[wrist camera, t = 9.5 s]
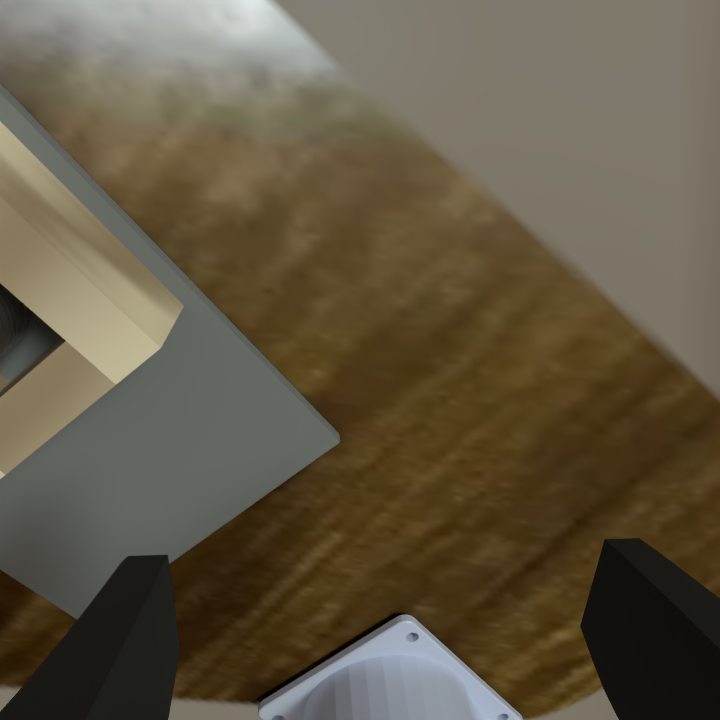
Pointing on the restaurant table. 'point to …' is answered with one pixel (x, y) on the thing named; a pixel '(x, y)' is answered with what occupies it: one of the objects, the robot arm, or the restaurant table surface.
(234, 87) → the restaurant table surface
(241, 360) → the charcoal mat
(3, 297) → the metal pin
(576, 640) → the restaurant table surface
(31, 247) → the birch square frame
